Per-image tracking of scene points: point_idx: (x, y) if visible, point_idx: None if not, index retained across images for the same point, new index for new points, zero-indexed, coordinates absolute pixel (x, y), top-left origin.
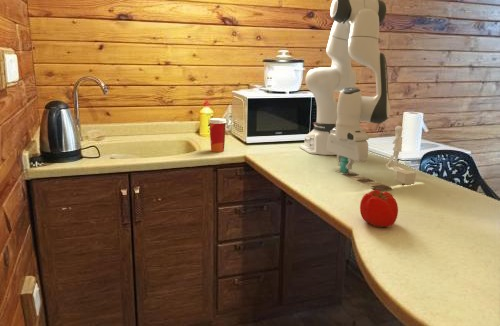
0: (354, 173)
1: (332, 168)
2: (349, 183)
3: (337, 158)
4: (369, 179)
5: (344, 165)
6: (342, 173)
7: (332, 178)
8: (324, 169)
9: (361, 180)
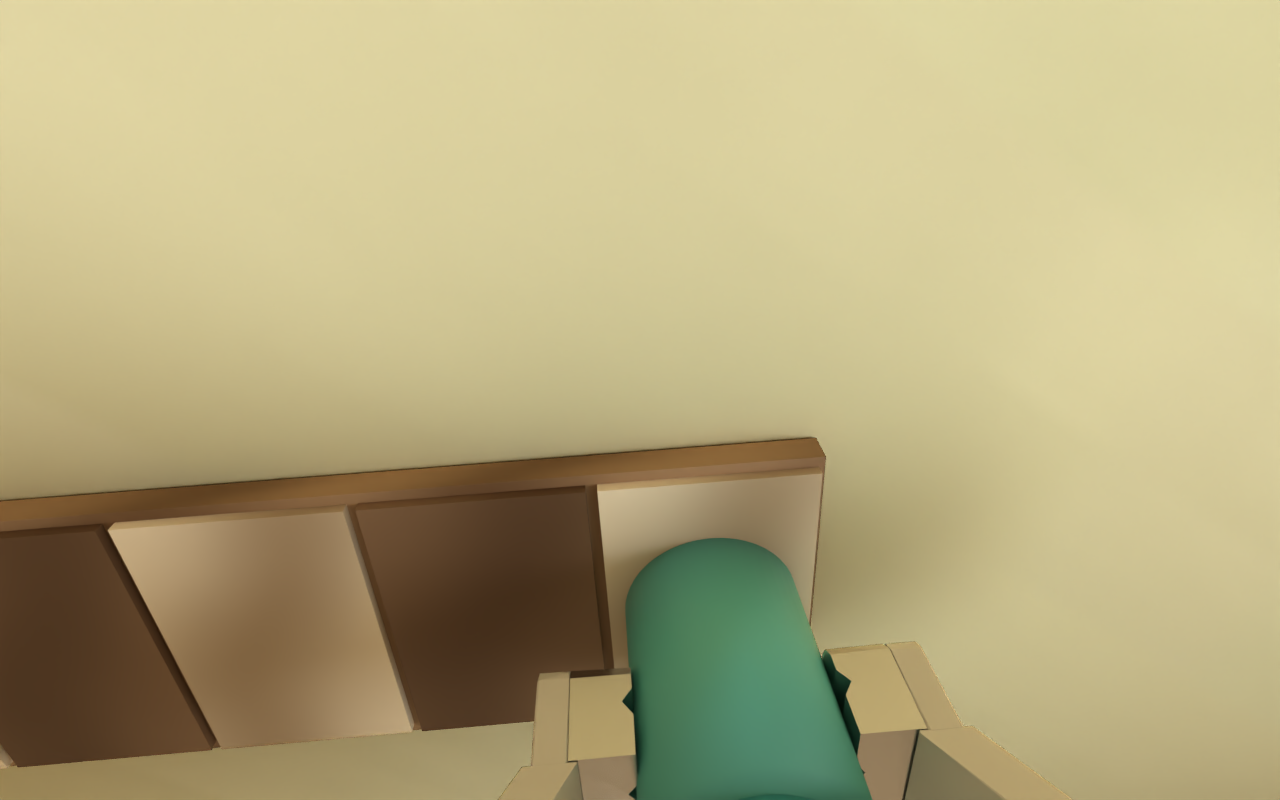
0: None
1: (1118, 569)
2: (20, 344)
3: (1048, 796)
4: (127, 740)
5: (659, 710)
6: (633, 530)
7: (489, 185)
8: (1175, 404)
9: (58, 608)
